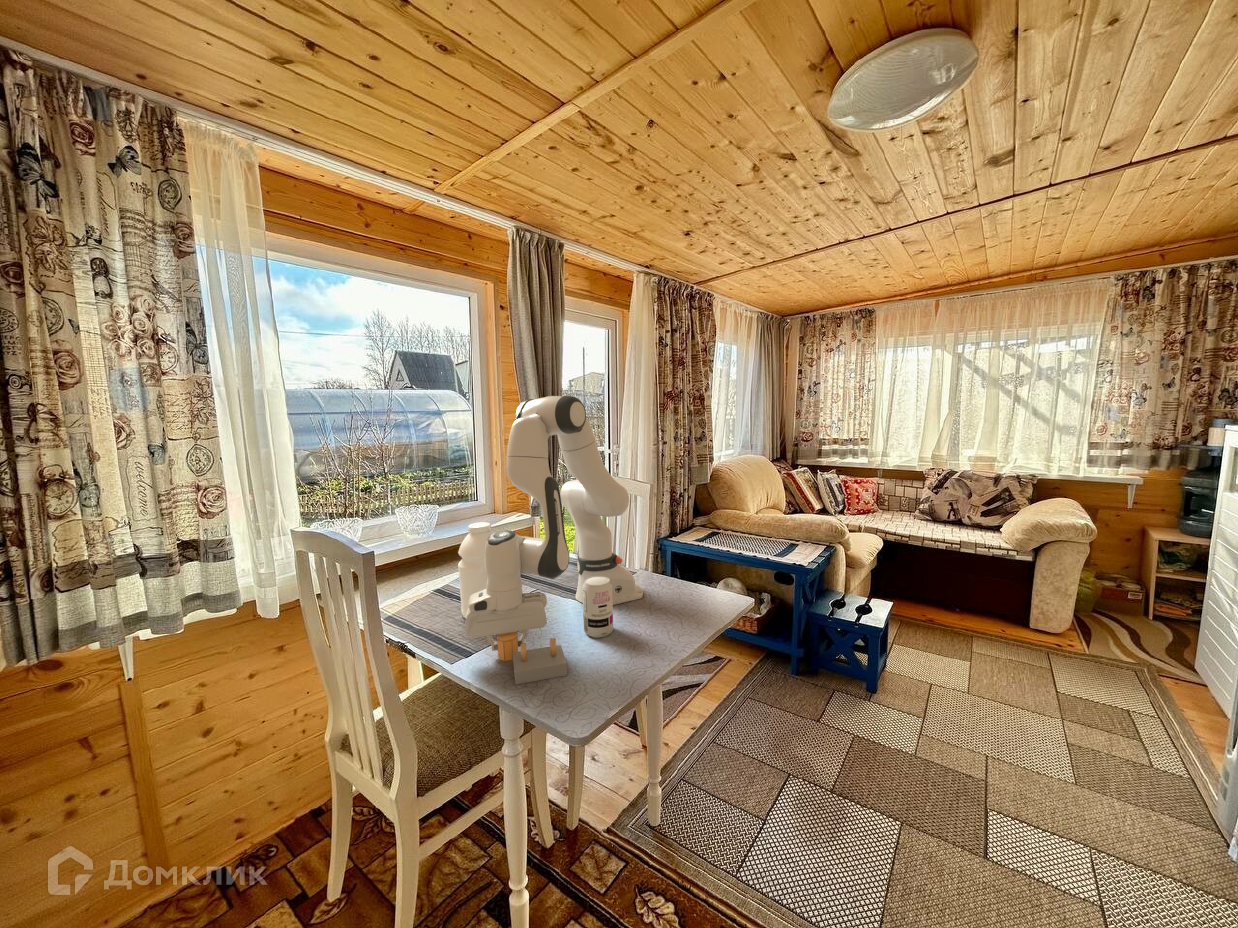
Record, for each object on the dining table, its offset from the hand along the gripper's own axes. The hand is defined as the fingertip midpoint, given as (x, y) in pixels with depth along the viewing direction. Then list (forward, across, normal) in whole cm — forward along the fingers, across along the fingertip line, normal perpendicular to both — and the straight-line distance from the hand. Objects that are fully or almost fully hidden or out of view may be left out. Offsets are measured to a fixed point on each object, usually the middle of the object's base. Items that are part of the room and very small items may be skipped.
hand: (508, 647), depth 119 cm
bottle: (+2, +6, -29) cm, 30 cm away
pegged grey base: (+2, -7, +9) cm, 12 cm away
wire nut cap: (+2, 0, 0) cm, 2 cm away
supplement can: (+2, -25, -5) cm, 26 cm away
